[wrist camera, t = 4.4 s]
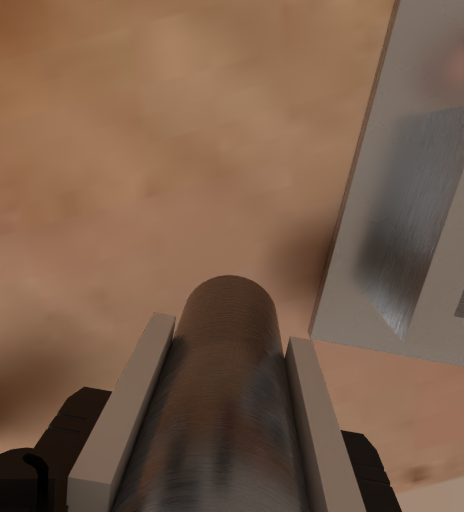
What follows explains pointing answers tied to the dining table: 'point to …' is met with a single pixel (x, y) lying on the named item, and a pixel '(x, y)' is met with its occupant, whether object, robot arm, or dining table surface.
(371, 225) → the metal pin holder base
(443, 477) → the dining table surface
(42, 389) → the dining table surface
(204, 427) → the pin
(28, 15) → the dining table surface
